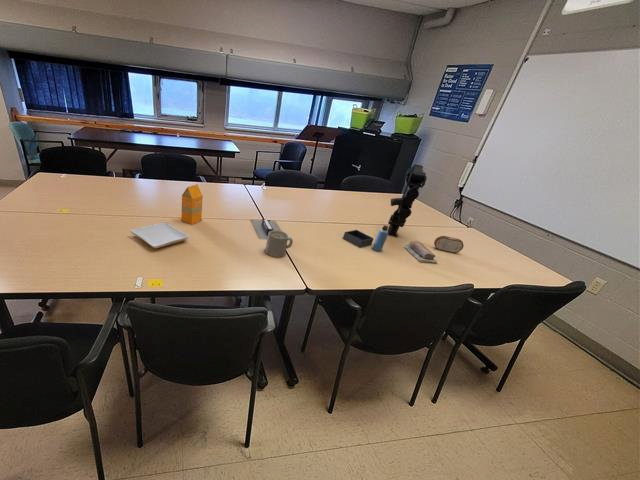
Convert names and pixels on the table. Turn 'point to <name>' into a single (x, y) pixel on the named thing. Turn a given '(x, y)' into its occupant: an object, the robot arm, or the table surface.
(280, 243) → the coffee mug
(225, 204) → the table surface
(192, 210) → the orange juice
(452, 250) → the tin
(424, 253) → the packaged product
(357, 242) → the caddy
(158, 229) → the salad plate
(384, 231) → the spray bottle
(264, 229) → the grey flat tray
